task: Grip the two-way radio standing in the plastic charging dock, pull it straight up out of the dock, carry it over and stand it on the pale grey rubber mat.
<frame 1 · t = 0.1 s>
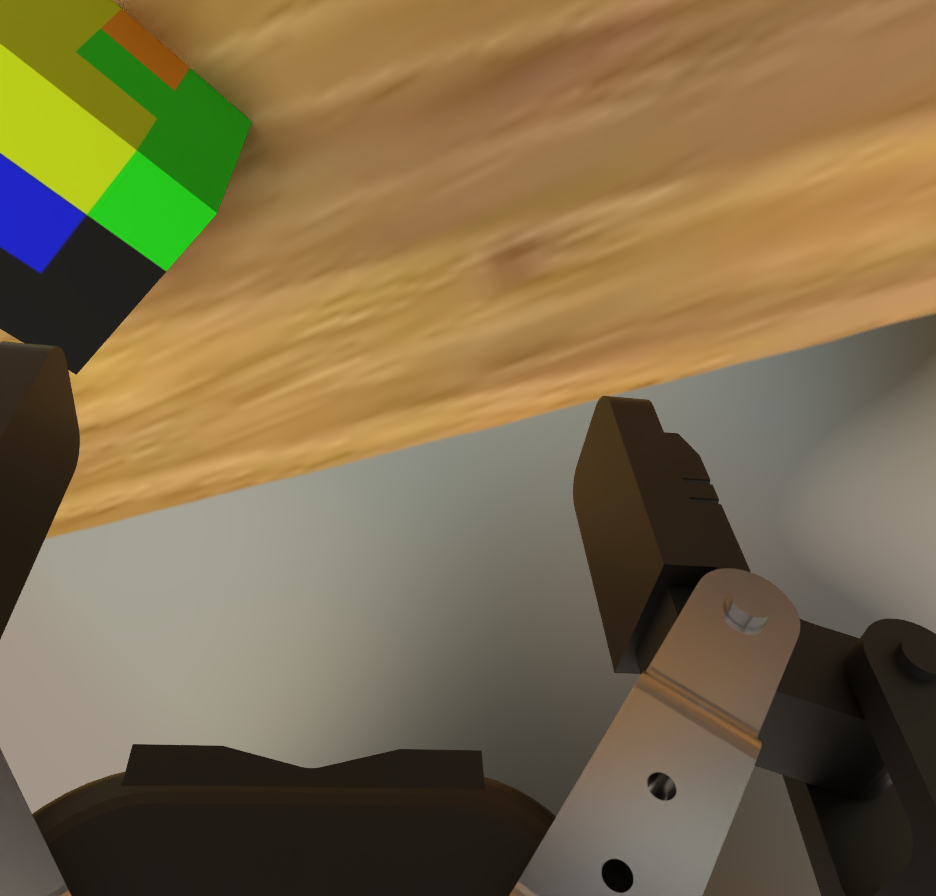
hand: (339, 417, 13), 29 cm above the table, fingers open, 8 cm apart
puzzle toy: (96, 120, 38), on the table
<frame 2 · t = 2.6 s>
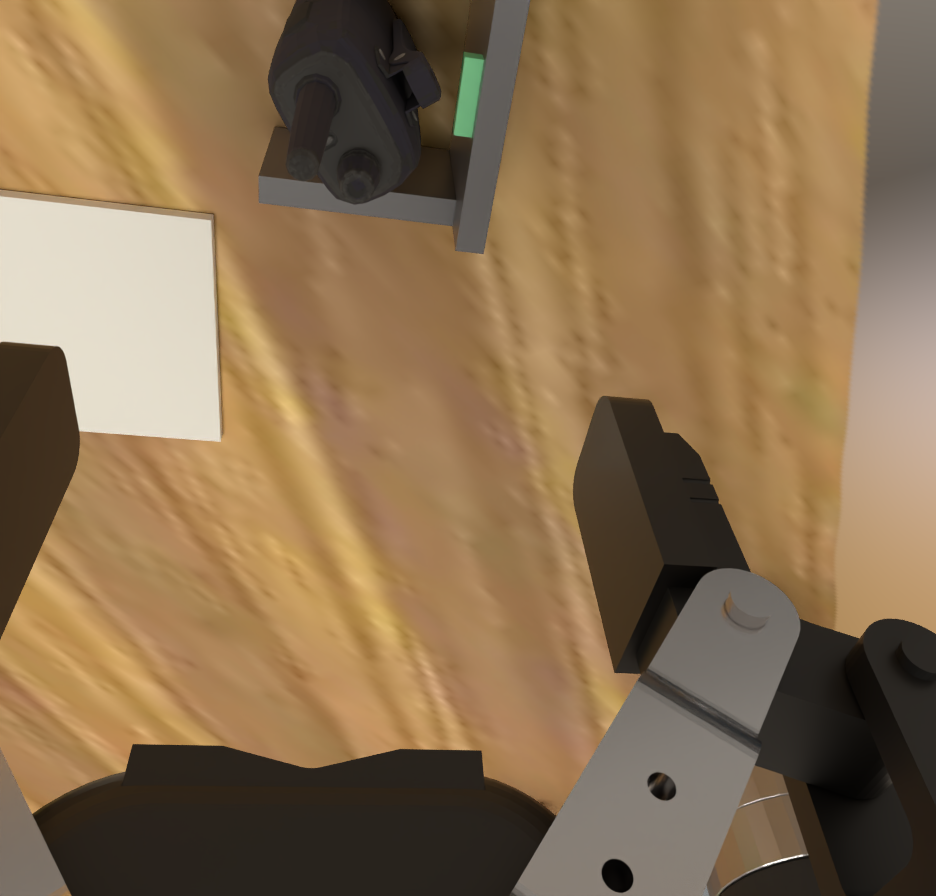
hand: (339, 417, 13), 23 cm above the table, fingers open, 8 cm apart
two-way radio: (371, 29, 31), on the table
dock: (371, 31, 31), on the table
mat: (59, 320, 37), on the table
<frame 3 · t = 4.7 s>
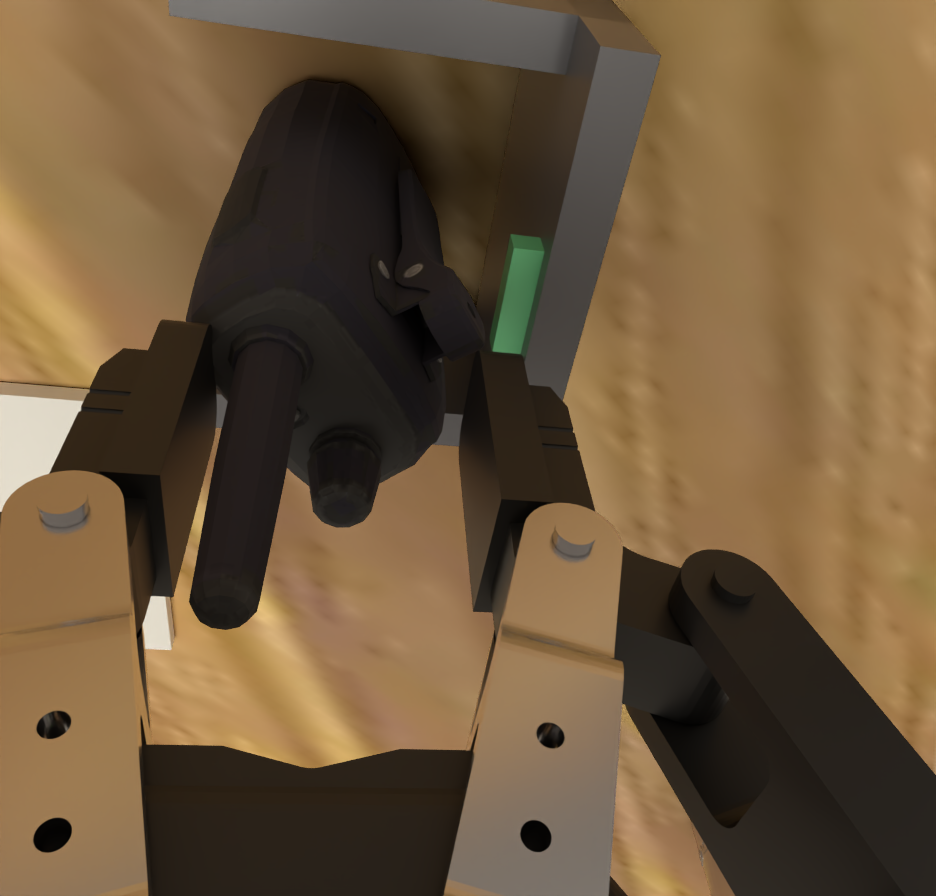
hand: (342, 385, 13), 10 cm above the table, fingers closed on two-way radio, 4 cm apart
two-way radio: (365, 159, 21), on the table, touching gripper
dock: (365, 161, 21), on the table
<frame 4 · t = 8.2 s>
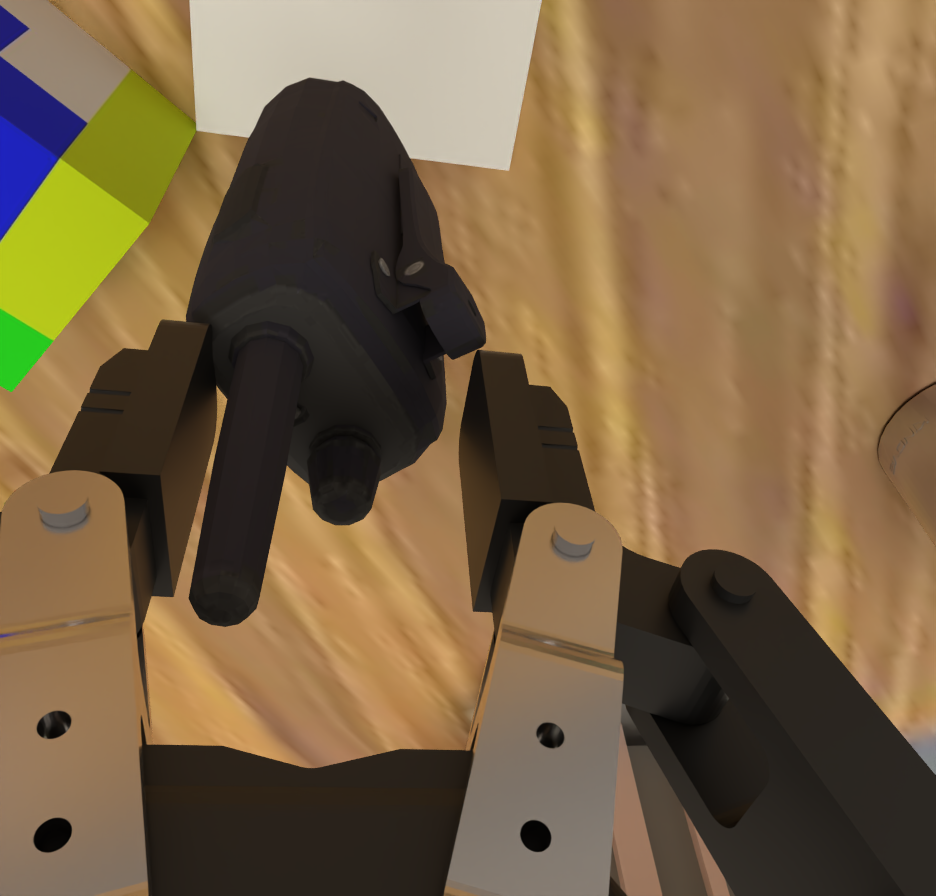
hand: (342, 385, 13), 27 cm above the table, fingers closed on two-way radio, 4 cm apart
two-way radio: (366, 157, 21), point 17 cm above the table, touching gripper
puzzle toy: (36, 125, 36), on the table
desk lamp: (590, 713, 70), on the table
mat: (368, 1, 34), on the table
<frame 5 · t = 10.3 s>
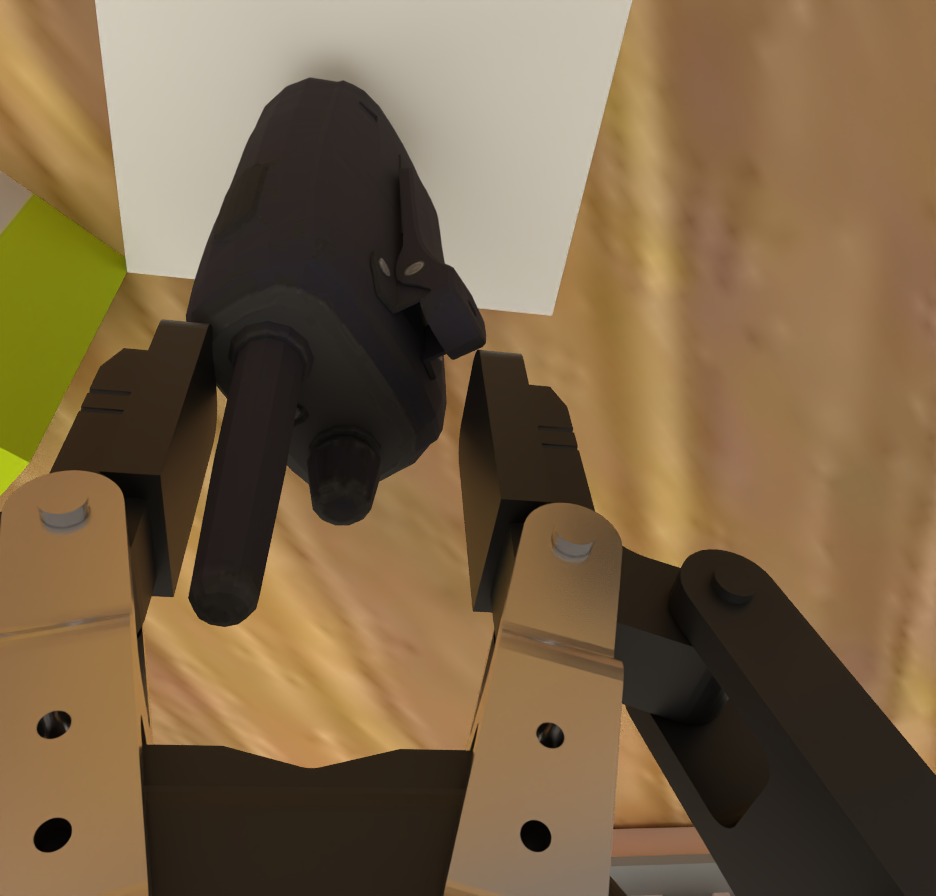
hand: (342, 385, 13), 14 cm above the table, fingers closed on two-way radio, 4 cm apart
two-way radio: (366, 157, 21), point 4 cm above the table, touching gripper
desk lamp: (623, 870, 60), on the table
mat: (361, 104, 24), on the table
when the fingers open (11 cm above the table, at t = 11.8 s): two-way radio stays where it is, resting on mat.
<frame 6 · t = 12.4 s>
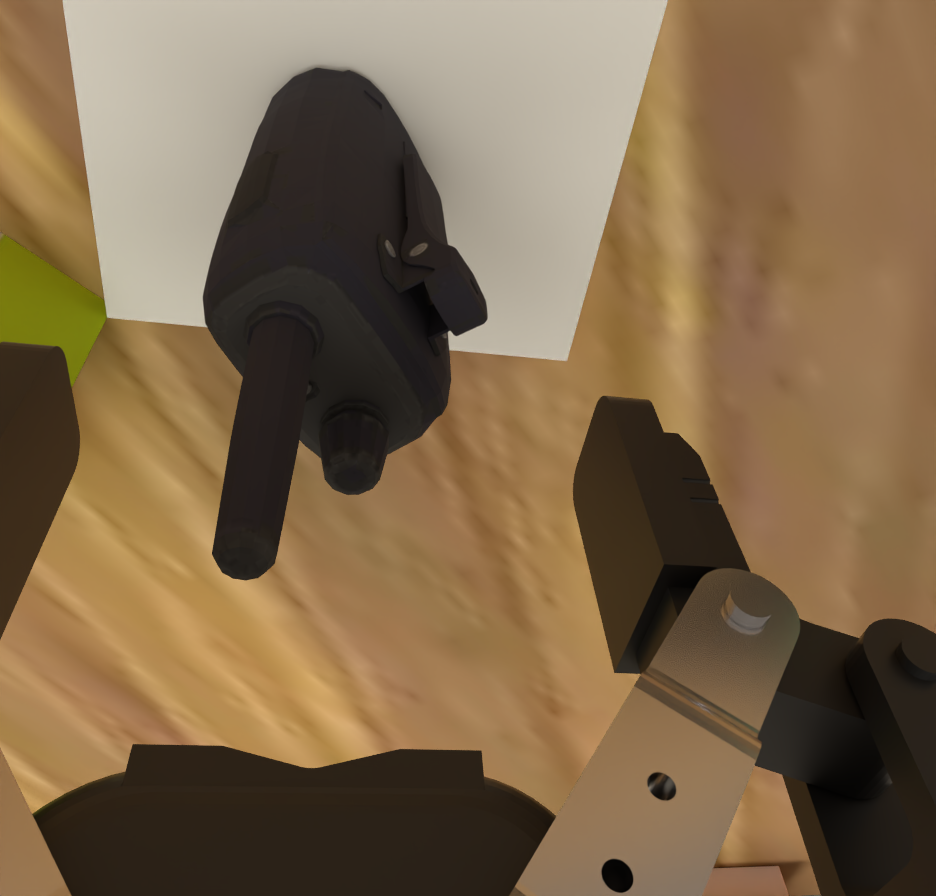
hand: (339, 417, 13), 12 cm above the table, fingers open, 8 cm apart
two-way radio: (371, 144, 22), resting on mat
mat: (361, 138, 22), on the table
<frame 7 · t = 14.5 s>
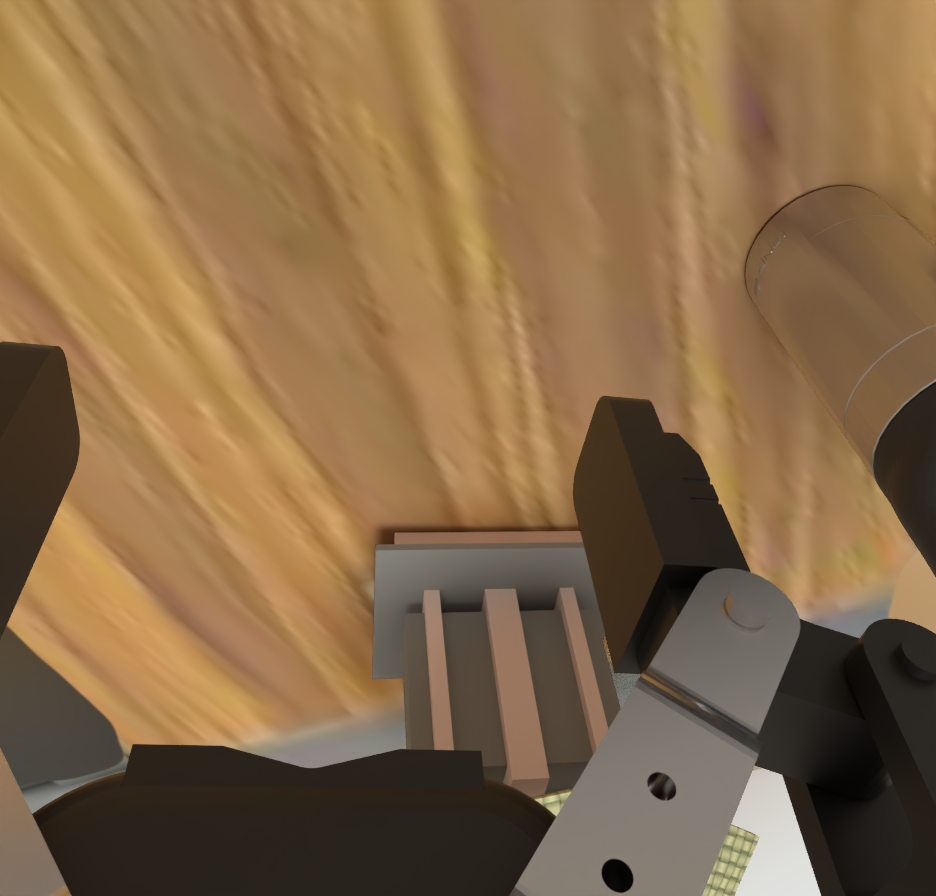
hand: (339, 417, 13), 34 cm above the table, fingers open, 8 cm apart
desk lamp: (490, 586, 70), on the table
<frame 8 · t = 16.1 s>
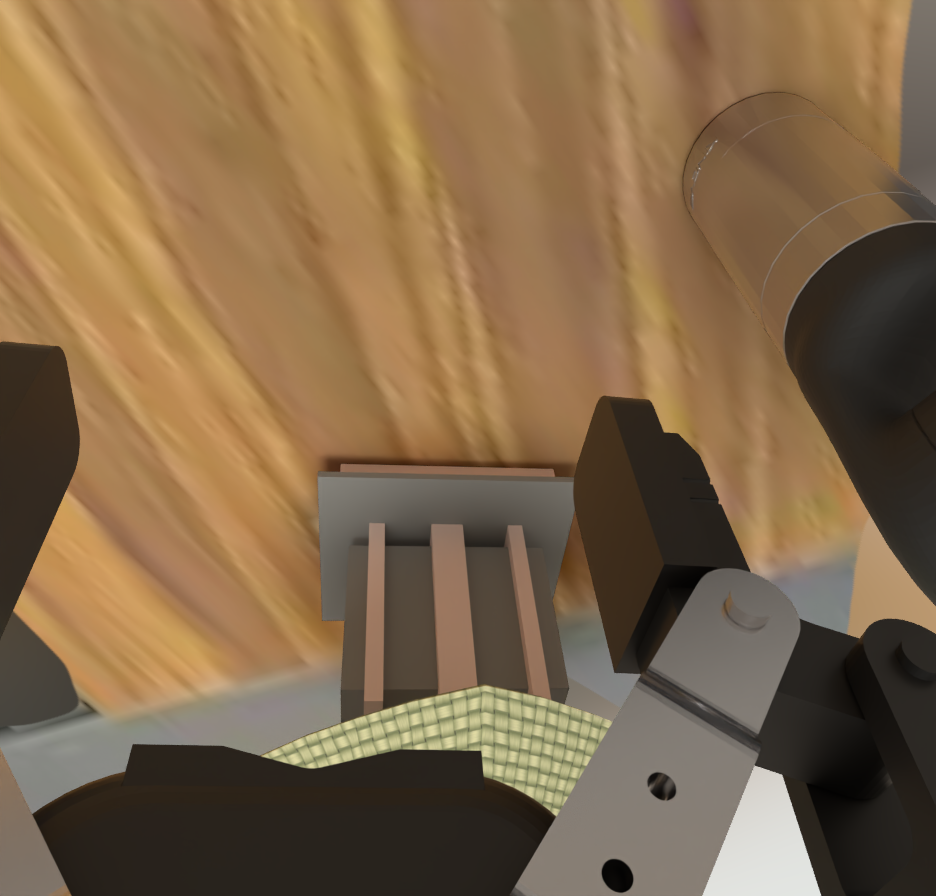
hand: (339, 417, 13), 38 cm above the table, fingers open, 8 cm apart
desk lamp: (441, 527, 69), on the table
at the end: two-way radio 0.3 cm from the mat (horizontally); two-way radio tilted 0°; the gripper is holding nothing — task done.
